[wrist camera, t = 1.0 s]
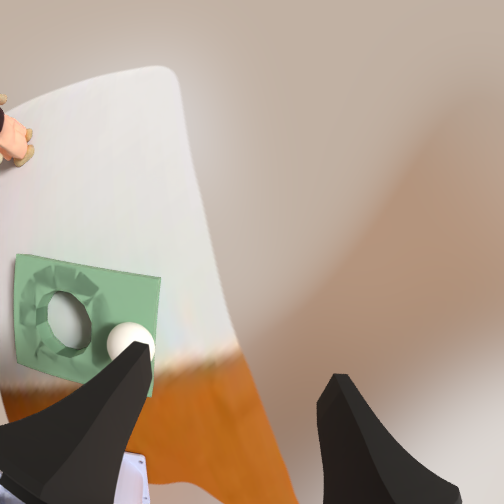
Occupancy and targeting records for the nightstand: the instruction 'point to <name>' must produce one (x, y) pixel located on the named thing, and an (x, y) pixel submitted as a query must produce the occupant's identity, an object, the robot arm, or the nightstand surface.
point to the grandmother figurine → (14, 139)
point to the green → (97, 306)
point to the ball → (128, 338)
